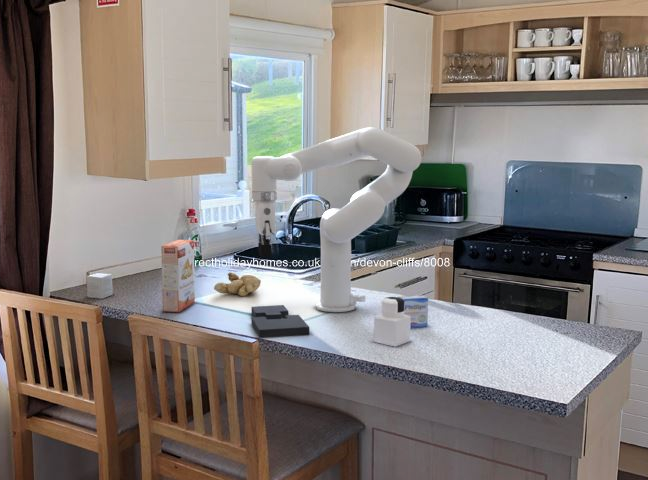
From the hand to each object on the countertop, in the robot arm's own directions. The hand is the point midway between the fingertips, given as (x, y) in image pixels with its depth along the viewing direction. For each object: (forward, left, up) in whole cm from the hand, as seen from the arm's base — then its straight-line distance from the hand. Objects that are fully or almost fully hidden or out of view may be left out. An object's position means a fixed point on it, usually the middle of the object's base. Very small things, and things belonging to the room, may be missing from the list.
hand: (264, 255), depth 236 cm
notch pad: (0, +24, -17) cm, 30 cm away
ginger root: (+4, -25, -17) cm, 31 cm away
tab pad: (0, +10, -17) cm, 20 cm away
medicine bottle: (-27, +43, -17) cm, 54 cm away
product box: (+51, -31, -17) cm, 62 cm away
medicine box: (-38, +29, -17) cm, 51 cm away
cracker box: (+26, -9, -17) cm, 33 cm away
